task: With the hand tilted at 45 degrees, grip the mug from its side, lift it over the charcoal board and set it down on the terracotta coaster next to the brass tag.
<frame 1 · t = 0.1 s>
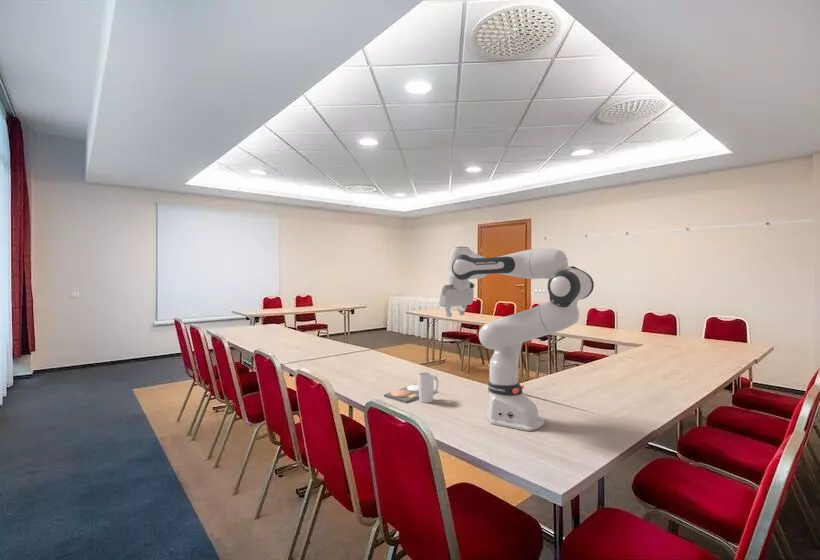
hand: (455, 315, 171), 39 cm above the table, tool pointing down, fingers open, 8 cm apart
coaster board: (411, 394, 187), on the table
mug: (429, 400, 178), on the table
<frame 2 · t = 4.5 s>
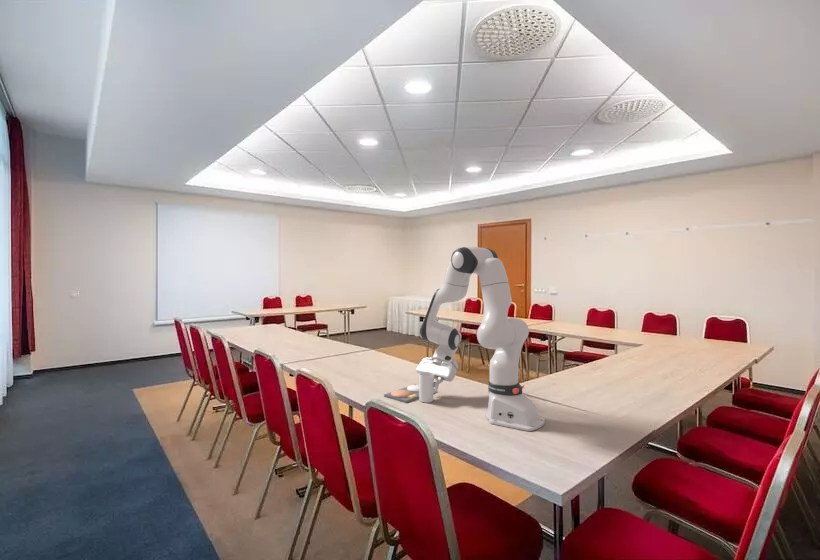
hand: (428, 385, 178), 7 cm above the table, tool tilted 45°, fingers closed on mug, 6 cm apart
mug: (429, 400, 178), on the table, touching gripper
when the fingers open (10 cm above the table, at t = 9.7 s): mug drops 1 cm, resting on coaster board.
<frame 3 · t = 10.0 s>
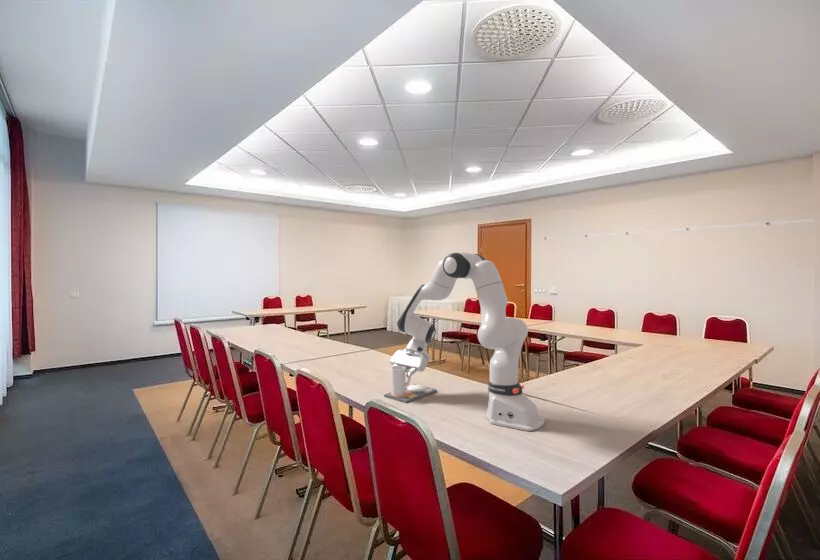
hand: (400, 375, 183), 10 cm above the table, tool tilted 45°, fingers open, 8 cm apart
mug: (401, 393, 184), point 1 cm above the table, touching coaster board, gripper
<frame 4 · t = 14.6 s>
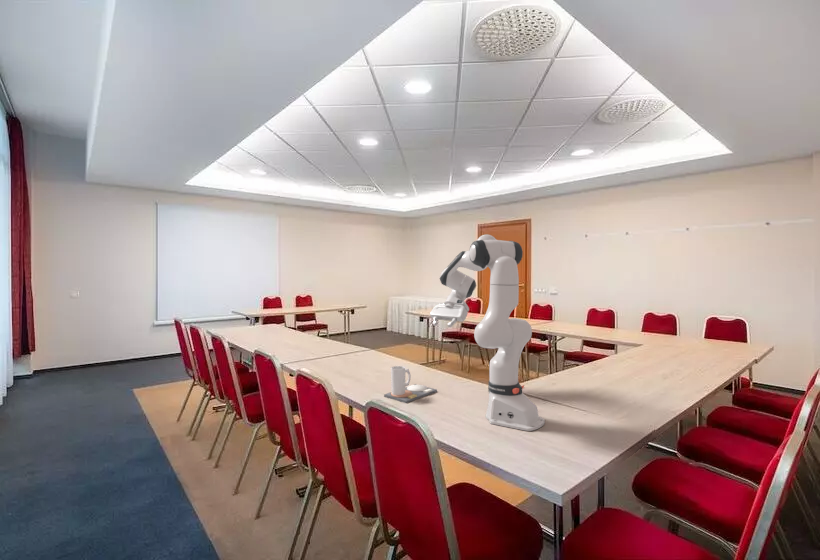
hand: (441, 325, 195), 31 cm above the table, tool tilted 45°, fingers open, 8 cm apart
mug: (401, 393, 184), point 1 cm above the table, touching coaster board
at the end: mug 0.3 cm from the target spot on the coaster board, point 1.4 cm above the coaster board's base; mug tilted 0°; the gripper is holding nothing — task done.
